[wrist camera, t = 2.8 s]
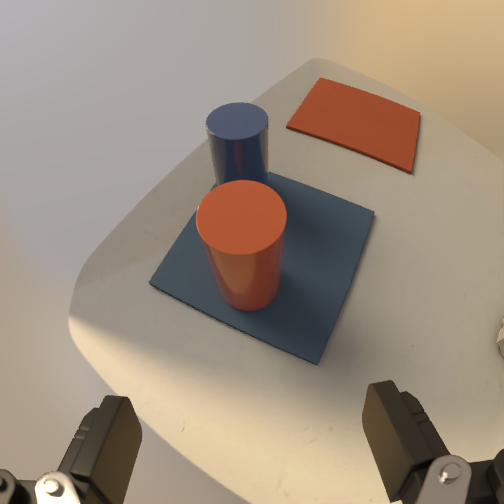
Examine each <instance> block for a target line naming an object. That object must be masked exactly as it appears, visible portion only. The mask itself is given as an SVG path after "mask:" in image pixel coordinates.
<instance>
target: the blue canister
mask: <svg viewBox="0 0 504 504" xmlns="http://www.w3.org/2000/svg"><path fill="white" fill-rule="evenodd" d="M206 128H207V134H208V140H209V145H210V151H211V156H212V161H213V167H214V172H215V177H216V182H217V187H218V186H220V185H222V184H224V183H227V182H231V181H237V180H250V181H256V182H259V183H262V184H264V185H266V186H268V116H267V114H266V112H265V111H264V110H263V109H262V108H260V107H258V106H256V105H253V104H250V103H230V104H226V105H223V106H220V107H218V108H217V109H215V110H214V111H212V112H211V113H210V114H209V116H208V117H207V120H206Z"/></svg>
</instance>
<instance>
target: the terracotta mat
mask: <svg viewBox="0 0 504 504" xmlns="http://www.w3.org/2000/svg"><path fill="white" fill-rule="evenodd" d="M419 117H420V112H417V111H415V110H413V109H410V108H408V107H405V106H403V105H401V104H398V103H395V102H393V101H390V100H388V99H385V98H382V97H380V96H377V95H374V94H371V93H368V92H366V91H363V90H360V89H357V88H354V87H350V86H347V85H344V84H341V83H338V82H334V81H331V80H327V79H324V78H319V80H318V81H317V83H316V84H315V85H314V87H313V88H312V90H311V91H310V92H309V94H308V95H307V97H306V98H305V99H304V101H303V102H302V104H301V105H300V107H299V108H298V109H297V111H296V112H295V114H294V115H293V117H292V118H291V119H290V121H289V122H288V124H287V125H286V128H288V129H292V130H295V131H298V132H301V133H304V134H308V135H311V136H314V137H317V138H320V139H323V140H326V141H328V142H331V143H334V144H337V145H340V146H343V147H345V148H348V149H351V150H354V151H356V152H359V153H361V154H364V155H367V156H369V157H372V158H374V159H377V160H379V161H382V162H384V163H387V164H389V165H391V166H394V167H396V168H398V169H401V170H403V171H405V172H408V173H410V174H411V171H412V166H413V160H414V153H415V147H416V140H417V133H418V125H419Z"/></svg>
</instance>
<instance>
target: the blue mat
mask: <svg viewBox="0 0 504 504" xmlns="http://www.w3.org/2000/svg"><path fill="white" fill-rule="evenodd" d="M216 187H217V182H216V183H215V185H214V186H213V188H212V189H211V190H210V191H212V190H213V189H214V188H216ZM268 187H270V188H271V189H273V190H274V191H275V192H276V193H277V194H278V195H279V196H280V197H281V199H282V201H283V202H284V205H285V207H286V212H287V221H286V230H285V240H284V249H283V258H282V267H281V276H280V284H279V290H278V293H277V295H276V296H275V298H274V299H273V301H272V302H271V303H270V304H268V305H267V306H265V307H264V308H261V309H259V310H255V311H242V310H238V309H235V308H233V307H231V306H230V305H229V304H227V303H226V302H225V300H224V299H223V298H222V296H221V294H220V292H219V289H218V286H217V283H216V281H215V278H214V275H213V272H212V270H211V267H210V264H209V261H208V258H207V255H206V253H205V250H204V247H203V244H202V241H201V238H200V235H199V232H198V230H197V225H196V214H197V210H198V209H197V210H196V212H195V213H194V215H193V216H192V217H191V219H190V220H189V222H188V223H187V225H186V226H185V228H184V229H183V231H182V232H181V234H180V235H179V237H178V238H177V240H176V241H175V243H174V244H173V246H172V247H171V249H170V250H169V252H168V253H167V255H166V256H165V258H164V259H163V261H162V262H161V264H160V265H159V267H158V269H157V270H156V272H155V273H154V275H153V276H152V278H151V280H150V281H149V284H151V285H152V286H154V287H156V288H158V289H160V290H162V291H163V292H165V293H167V294H169V295H171V296H173V297H175V298H177V299H178V300H180V301H182V302H184V303H186V304H188V305H190V306H192V307H194V308H196V309H198V310H200V311H202V312H204V313H206V314H208V315H210V316H212V317H214V318H216V319H218V320H220V321H222V322H224V323H226V324H228V325H230V326H232V327H234V328H236V329H238V330H240V331H242V332H245V333H247V334H249V335H251V336H253V337H255V338H257V339H259V340H262V341H264V342H266V343H268V344H270V345H273V346H275V347H277V348H279V349H282V350H284V351H286V352H288V353H291V354H293V355H295V356H297V357H300V358H302V359H304V360H307V361H309V362H311V363H314V364H316V365H317V364H318V362H319V359H320V357H321V355H322V353H323V350H324V348H325V346H326V343H327V341H328V339H329V336H330V334H331V331H332V329H333V327H334V324H335V322H336V319H337V317H338V314H339V312H340V309H341V307H342V304H343V301H344V299H345V296H346V294H347V291H348V288H349V285H350V283H351V280H352V277H353V275H354V272H355V269H356V266H357V263H358V260H359V258H360V255H361V252H362V249H363V246H364V243H365V240H366V237H367V234H368V231H369V227H370V224H371V221H372V218H373V215H374V211H371V210H369V209H366V208H364V207H362V206H359V205H357V204H354V203H352V202H349V201H347V200H344V199H342V198H339V197H337V196H334V195H332V194H329V193H326V192H324V191H321V190H318V189H316V188H313V187H310V186H308V185H305V184H302V183H300V182H297V181H294V180H291V179H288V178H286V177H283V176H280V175H277V174H274V173H271V172H268Z"/></svg>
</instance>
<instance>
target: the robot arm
mask: <svg viewBox="0 0 504 504" xmlns="http://www.w3.org/2000/svg"><path fill="white" fill-rule="evenodd" d="M362 424H363V429H364V432H365V435H366V437H367V440H368V443H369V445H370V448H371V451H372V453H373V456H374V459H375V461H376V464H377V467H378V470H379V472H380V475H381V478H382V481H383V483H384V486H385V489H386V492H387V495H388V498H389V500H390V503H392V502H395V501H399V500H401V501H402V503H403V504H504V449H502V450H501V451H500V452H499V453H498V454H497V455H496V457H495V458H494V459H493V460H487V461H480V462H472V463H468V462H467V461H466V460H465V459H463V458H461V457H459V456H456V455H451V454H450V453H449V451H448V450H447V448H446V446H445V444H444V443H443V441H442V439H441V437H440V436H439V434H438V432H437V431H436V429H435V427H434V425H433V424H432V422H431V421H430V420H429V417H428V415H427V414H426V412H424V409H423V407H422V405H421V404H420V402H419V401H418V399H417V398H415V397H414V396H413V395H411V394H410V393H408V392H407V391H405V392H401V393H400V392H399V391H398V389H397V387H396V385H395V384H394V382H393V381H392V380H387V381H382V382H377V383H372V384H369V386H368V390H367V395H366V400H365V404H364V409H363V414H362ZM74 437H75V438H73V439H72V441H71V443H70V445H69V447H68V449H67V451H66V453H65V456H64V457H63V460H62V462H61V464H60V466H59V468H58V470H57V471H52V472H48V473H45V474H44V475H42V476H41V477H40V478H39V479H38V481H30V480H17V479H16V478H15V477H14V476H13V475H12V474H11V473H10V472H9V471H7V470H5V469H0V504H123V502H124V498H125V495H126V491H127V488H128V484H129V481H130V477H131V474H132V471H133V467H134V464H135V461H136V458H137V454H138V451H139V448H140V445H141V441H142V428H141V425H140V423H139V420H138V418H137V416H136V413H135V411H134V408H133V406H132V404H131V401H130V399H129V398H128V397H124V396H113V395H107V396H105V398H104V399H103V402H102V403H101V405H100V407H99V408H93V409H92V410H91V411H90V412H89V413H88V414H87V415H86V416H84V418H83V420H82V422H81V424H80V426H79V430H77V432H76V433H75V435H74Z"/></svg>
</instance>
